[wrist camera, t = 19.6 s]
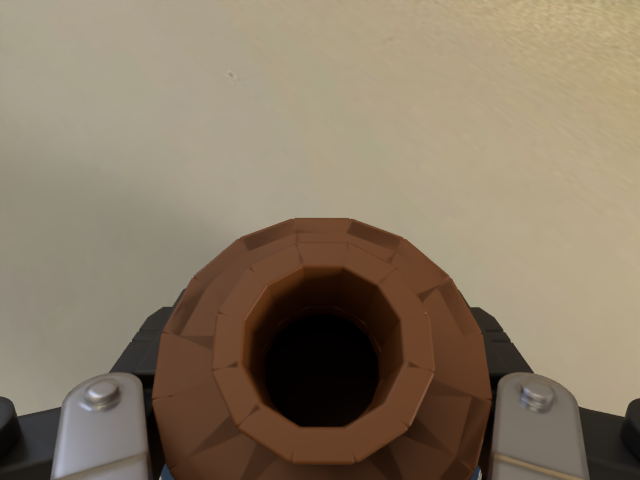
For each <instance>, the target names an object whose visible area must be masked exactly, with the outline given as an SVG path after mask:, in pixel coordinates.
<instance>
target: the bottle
mask: <svg viewBox="0 0 640 480" xmlns="http://www.w3.org/2000/svg"><path fill="white" fill-rule="evenodd" d="M162 332H163V333H162V334H161V338H160V345H159V351H158V358H157V365H156V371H155V378H154V385H153V391H152V400H153V401H152V406H153V410H154V415H155V419H156V423H157V427H158V431H159V435H160V439H161V444H162V448H163V452H164V456H165V460H166V464H167V468H168V469H169V470H170V474H171V476H172V477H173V478H174V480H470V479H471V477H472V476H473V475H474V470H476V469H477V465H478V461H479V456H480V452H481V448H482V444H483V440H484V435H485V431H486V427H487V423H488V419H489V415H490V410H491V406H492V401H491V400H492V392H491V386H490V379H489V373H488V366H487V359H486V353H485V346H484V340H483V335H482V334H481V329H480V328H479V326H478V324H477V322H476V321H475V319H474V317H473V315H472V314H471V312H470V310H469V308H468V307H467V305H466V303H465V301H464V299H463V298H462V296H461V294H460V292H459V291H458V289H457V287H456V285H455V284H454V282H453V280H452V279H451V278H450V276H449V275H448V274H447V273H445V272H444V271H443V270H442V269H441V268H440V267H438V266H437V265H436V264H435V263H434V262H432V261H431V260H430V259H429V258H428V257H426V256H425V255H424V254H423V253H422V252H421V251H419V250H418V249H417V248H416V247H415V246H413V245H412V244H411V243H410V242H409V241H408V240H406V239H404V238H403V237H400V236H398V235H395V234H392V233H390V232H387V231H384V230H381V229H379V228H376V227H373V226H370V225H368V224H365V223H362V222H359V221H357V220H354V219H349V218H294V220H293V219H289V220H287V221H284V222H281V223H278V224H276V225H273V226H270V227H267V228H265V229H262V230H259V231H256V232H254V233H251V234H248V235H245V236H243V237H241V238H240V239H237V240H236V241H235V242H234V243H232V244H231V245H230V246H229V247H228V248H226V249H225V250H224V251H223V252H222V253H220V254H219V255H218V256H217V257H216V258H215V259H213V260H212V261H211V262H210V263H209V264H207V265H206V266H205V267H204V268H203V269H201V270H200V271H199V272H198V273H197V274H196V275H195V276H194V278H192V279H191V281H190V283H189V285H188V286H187V288H186V290H185V292H184V293H183V295H182V297H181V299H180V300H179V302H178V304H177V306H176V308H175V309H174V311H173V313H172V315H171V316H170V318H169V320H168V322H167V323H166V325H165V327H164V329H163V331H162Z"/></svg>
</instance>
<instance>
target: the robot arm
mask: <svg viewBox="0 0 640 480" xmlns="http://www.w3.org/2000/svg"><path fill="white" fill-rule="evenodd" d="M185 290H186V289H184V290H183V291H182V293H181V294H180V296H179V297H178V299H177V301H176V302H175V304H174V305H173V307H162V308H161V309H159V310H158V311H157V312H155V313H154V314H152V315H151V316H149V317H148V318H147V319H146V321H145V322H144V324H143V325H142V326H141V328H140V329H139V332H137V334H136V335H135V336H134V338H133V339H132V342H130V344H129V345H128V346H127V348H126V349H125V351H124V352H123V353H122V355H121V356H120V358H119V359H118V361H117V362H116V363H115V365H114V366H113V368H112V369H111V371H110V372H109V373H107V374H102V375H99V376H96V377H93V378H91V379H88V380H86V381H84V382H83V383H81V384H79V385H78V386H76V387H75V388H74V389H73V390H72V391H70V392H69V393H68V395H67V396H66V397H65V399H64V401H63V404H62V407H59V408H55V409H50V410H46V411H41V412H36V413H32V414H27V415H23V416H18V417H17V414H16V411H15V407H14V405H13V403H12V401H11V400H9V399H7V398H5V397H0V480H159V478H160V475H161V473H162V470H163V468H164V465H167V464H166V460H165V456H164V452H163V448H162V444H161V439H160V435H159V431H158V427H157V423H156V419H155V415H154V410H153V406H152V401H153V400H152V391H153V385H154V378H155V371H156V365H157V358H158V351H159V345H160V338H161V334H162V333H163V332H162V331H163V329H164V327H165V325H166V323H167V322H168V320H169V318H170V316H171V315H172V313H173V311H174V309H175V308H176V306H177V304H178V302H179V300H180V299H181V297H182V295H183V293H184V292H185ZM458 291H459V290H458ZM459 292H460V291H459ZM460 294H461V292H460ZM461 296H462V298H463V299H464V297H463V295H462V294H461ZM464 301H465V303H466V305H467V307H468V308H469V310H470V312H471V314H472V315H473V317H474V319H475V321H476V322H477V324H478V326H479V328H480V329H481V334H482V335H483V340H484V346H485V353H486V359H487V366H488V373H489V379H490V386H491V392H492V400H491V401H492V406H491V410H490V415H489V419H488V423H487V427H486V431H485V435H484V440H483V444H482V448H481V452H480V456H479V461H478V465H477V466H479V468H480V470H481V473H482V479H481V480H640V398H639V399H635V400H633V401H632V402H631V403H629V405H628V408H627V411H626V414H625V417H622V416H617V415H612V414H608V413H603V412H598V411H594V410H589V409H585V408H582V407H579V406H578V404H577V401H576V399H575V397H574V396H573V395H572V393H571V392H570V391H568V390H567V389H566V388H565V387H564V386H562V385H561V384H559V383H557V382H556V381H554V380H552V379H549V378H547V377H544V376H541V375H538V374H534V372H533V371H532V369H531V368H530V367H529V365H528V364H527V362H526V361H525V360H524V358H523V357H522V355H521V354H520V353H519V351H518V350H517V348H516V347H515V346H514V344H513V343H511V340H510V339H509V337H508V336H507V334H506V333H505V332H503V329H502V327H501V326H500V325H499V323H498V322H497V320H496V319H495V318H494V317H493V316H491V315H490V314H488V313H487V312H485V311H484V310H482V309H481V308H479V307H470V306H469V305H468V303H467V302H466V300H465V299H464Z"/></svg>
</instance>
